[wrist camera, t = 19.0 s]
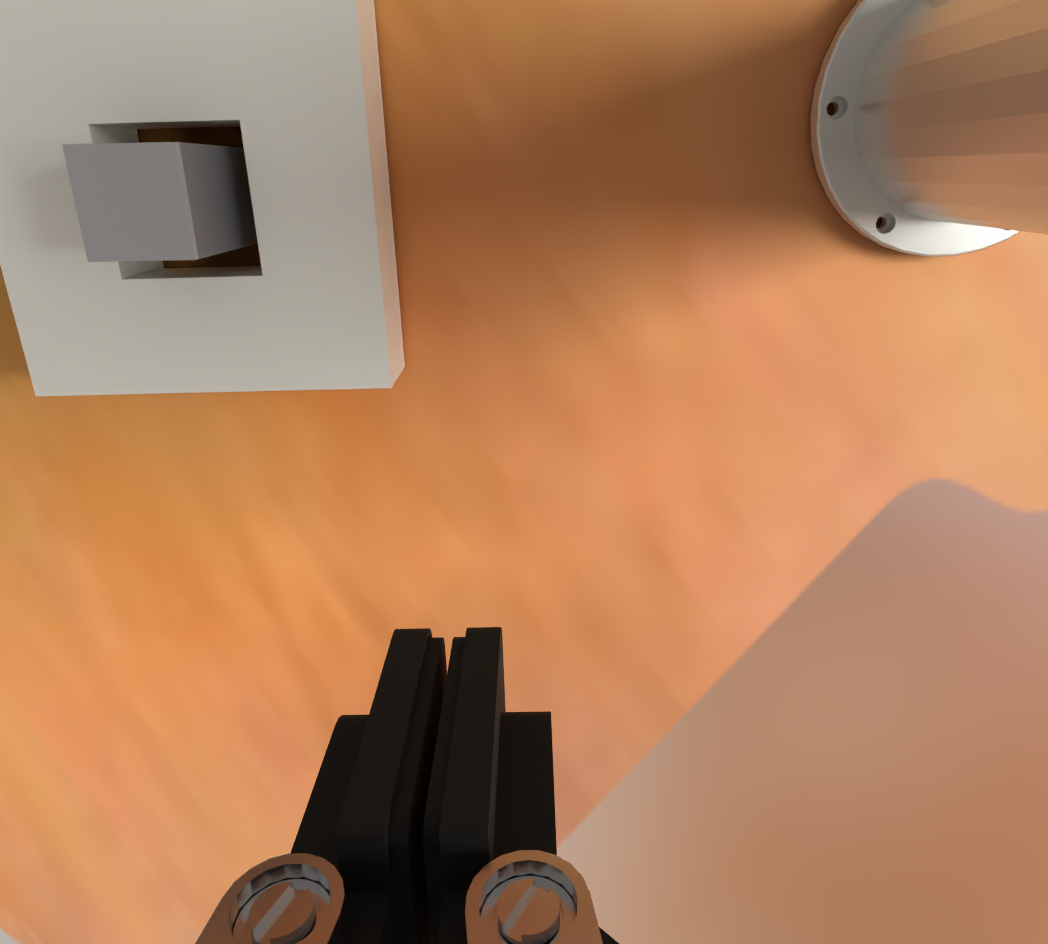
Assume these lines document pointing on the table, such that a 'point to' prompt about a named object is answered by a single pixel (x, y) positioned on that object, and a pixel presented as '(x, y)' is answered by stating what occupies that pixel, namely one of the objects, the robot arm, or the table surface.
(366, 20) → the socket housing
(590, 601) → the table surface
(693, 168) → the table surface
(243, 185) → the plug
